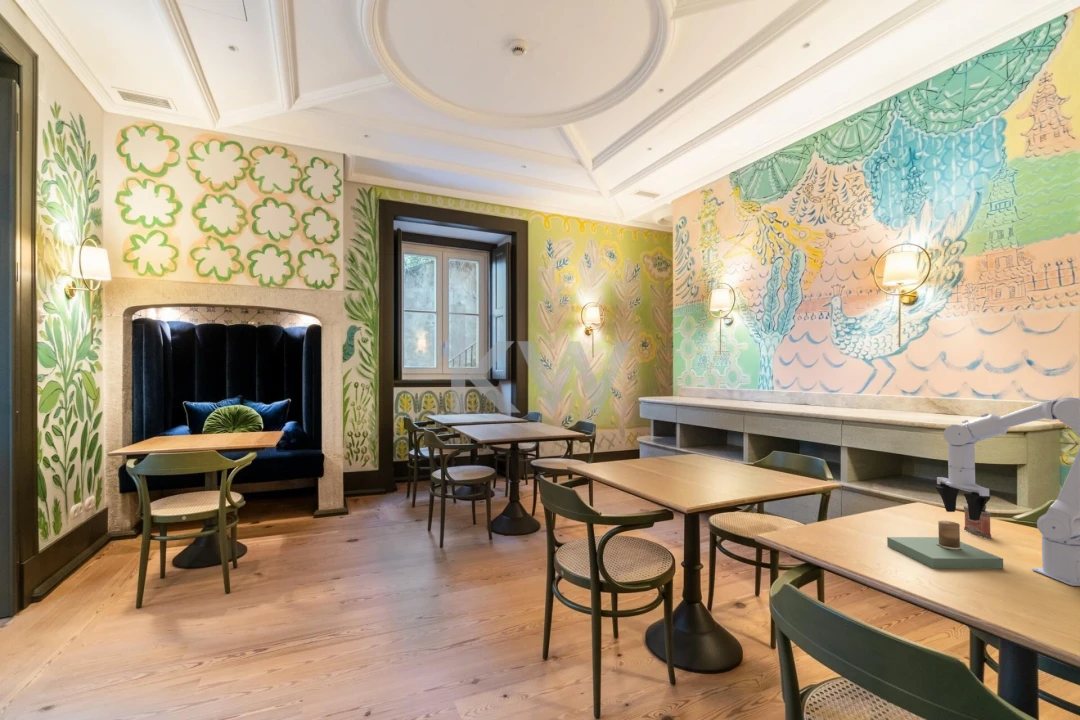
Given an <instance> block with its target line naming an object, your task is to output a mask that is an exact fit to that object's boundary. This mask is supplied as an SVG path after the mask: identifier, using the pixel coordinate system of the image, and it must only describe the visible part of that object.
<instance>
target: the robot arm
mask: <svg viewBox="0 0 1080 720" xmlns="http://www.w3.org/2000/svg"><path fill="white" fill-rule="evenodd" d="M1043 419H1046V420H1059V421H1060V422H1062V423H1063V424H1064V425H1066V426H1067V427H1069V428H1071V429H1072V430H1073V431H1074V432H1075V433H1076V434H1077V435H1078V436H1079V437H1080V397H1064V398H1060V399H1056V400H1054V399H1053V400H1048V401H1043V402H1040V403H1037V404H1034V405H1031V406H1028V407H1025V408H1022V409H1020V410H1016V411H1013V412H1010V413H1008V414H1005V415H1002V416H1000V415H998V414H995V413H991V414H989V413H983V414H980V417H978V418H975V419H971V420H968V419H965V420H963V421H962V424H955V423H954V424H951V425H948V426H947V427H946V428H945V429H944V431H943V439H944V440H945V442H946V443H947V463H948V464H947V465H948V474H947V476H948V478H947V477H942V476H941V477H939V476H938V477H936V484H937V485H935V489H936V491H937V492H938V493H939V496H940V497H941V500H942V502H943V505H944V508H945V511H946V513H955V512H956V510H957V509H956V508H957V497H958V494H959V491H960V490H961V491H965V492H969V493H963V496H964V498H965V500H966V501H967V506H968V510H969V518H970V519H971V520H979V519H980V516H981V513H982V510H983V508H984V506H985V505H986V506H987V503H988V502H989V501H990V500H991V496H990V488H987V487H983V486H981V485H979V484H977V483H976V455H975V453H976V452H975V444H976V443H977V442H981V441H984V440H987V439H993V438H994V437H995V438H996V437H998V436H1004V435H1006V434H1007V432H1008V430H1009V429H1010V428H1012V427H1015V426H1019V425H1024V424H1027V423H1031V422H1035V421H1039V420H1043ZM938 485H939V486H938ZM1036 526H1037V529H1038V531H1039V533H1040V534H1041V563H1042V567H1032V568H1031V570H1032V571H1035V572H1037V573H1039V574H1041V575H1044V576H1046V577H1049V578H1052V579H1054V580H1057V581H1059V582H1062V583H1065V584H1066V585H1068V586H1071V587H1080V448H1079V449H1078V452H1077V453H1076V455H1075V457H1074V460H1073V463H1072V465H1071V466H1070V469H1069V472H1068V474H1067V476H1066V479H1065V480H1064V483H1063V484H1062V487H1061V490H1060V491H1059V493H1058V496H1057V499H1055V501H1054V502H1053V503H1052V504H1051V505H1050V506H1049V507H1048V510H1047V511H1046V512H1045V513H1044V514H1043V515H1041V516H1039V517H1038V519H1037V521H1036Z"/></svg>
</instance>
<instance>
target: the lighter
mask: <svg viewBox="0 0 1080 720" xmlns="http://www.w3.org/2000/svg"><path fill="white" fill-rule="evenodd" d="M966 503H967V501H966ZM986 509H987V504H986V505H985V506H984V508H983V510H982V513H981V516H980V519H979V520H971V519H970V518H969V510H968V505H963V510H964V527H963V530H964V531H965V530H966V531H965V532H967V531H968V532H967V533H969V532H970V534H972V533H973V534H972V535H974V534H976V535H975V536H977V535H979V536H978V537H980V536H982V537H981V538H984V537H985V538H984V539H992V533H991V516H992V513H991V511H988V510H986Z"/></svg>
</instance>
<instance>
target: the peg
mask: <svg viewBox="0 0 1080 720" xmlns="http://www.w3.org/2000/svg"><path fill="white" fill-rule="evenodd" d="M937 524H938V537H939V546H940V547H942V548H945V549H947V550H960V542H961V538H960V537H961V535H960V534H961V531H960V527H961V525H960V523H957V522H954V521H950V520H938V523H937Z"/></svg>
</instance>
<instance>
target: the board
mask: <svg viewBox="0 0 1080 720" xmlns="http://www.w3.org/2000/svg"><path fill="white" fill-rule="evenodd" d="M886 539H887V540H886V541H887V542H886V543H887V547H888V548H891V549H893V550H895V551H897V552H899V553H901V554H903V555H905V556H907V557H908V558H911V559H913V560H915V561H917V562H919V563H921V564H923V565H925V566H927V567H929V568H931V569H975V568H990V570H991V568H992V569H997V570H999V569H1000V568H1002V569H1004V558H1002V557H1000V556H997V555H995V554H993V553H990V552H988V551H985V550H982V549H980V548H977V547H975V546H972V545H970V544H967V543H965V542H962V541H960V550H947V549H945V548H942V547H940V546H939V536H937V537H936V536H935V537H934V536H933V537H931V536H920V537H919V536H917V537H915V536H899V537H898V536H887V538H886ZM1000 570H1001V569H1000Z"/></svg>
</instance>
